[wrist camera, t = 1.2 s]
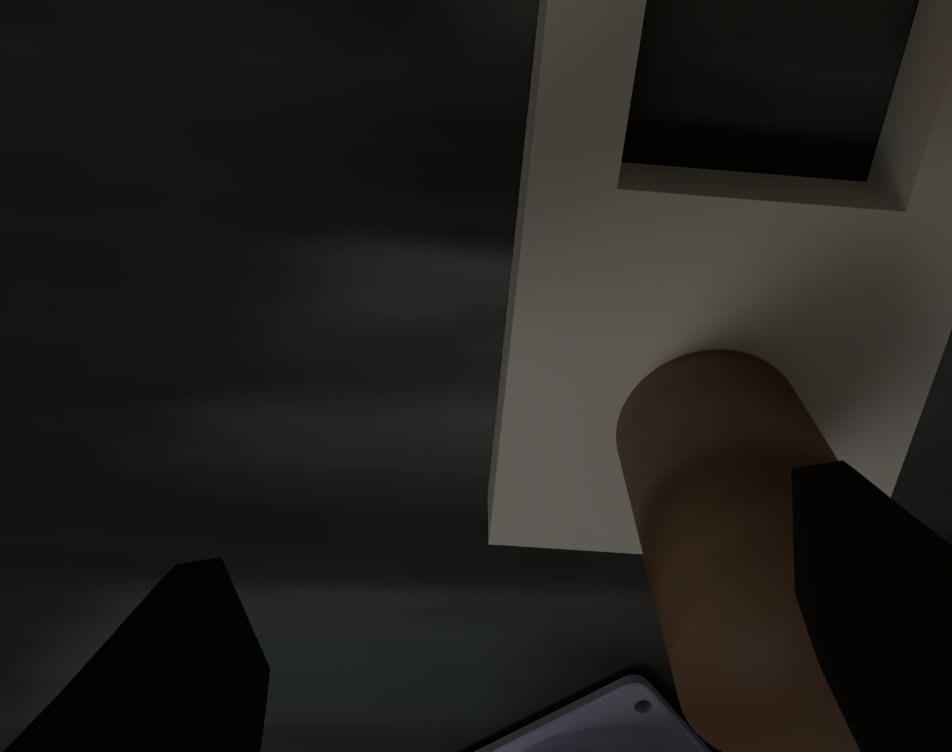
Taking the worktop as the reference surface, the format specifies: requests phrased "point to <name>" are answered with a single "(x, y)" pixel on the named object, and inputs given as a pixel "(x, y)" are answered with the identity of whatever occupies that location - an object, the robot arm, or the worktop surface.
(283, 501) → the worktop surface
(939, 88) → the peg board
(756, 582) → the walnut pin
